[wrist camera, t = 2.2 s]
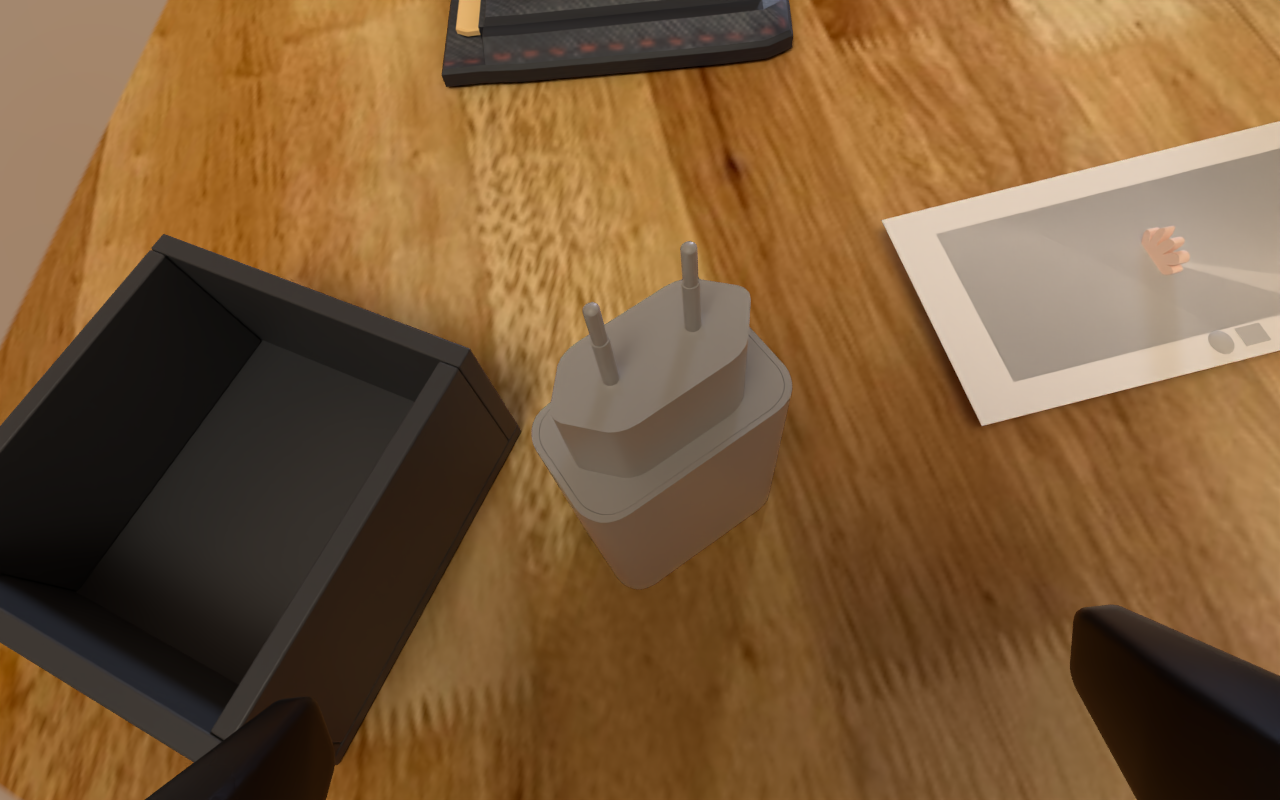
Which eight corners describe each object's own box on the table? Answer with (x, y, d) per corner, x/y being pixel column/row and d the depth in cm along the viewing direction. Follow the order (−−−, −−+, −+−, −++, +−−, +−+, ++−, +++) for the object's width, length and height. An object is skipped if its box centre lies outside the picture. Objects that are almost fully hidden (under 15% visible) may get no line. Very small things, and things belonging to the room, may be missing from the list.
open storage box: (338, 765, 20) (211, 774, 15) (63, 605, 22) (-123, 567, 17) (522, 430, 23) (470, 348, 18) (267, 328, 26) (163, 232, 21)
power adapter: (575, 515, 22) (441, 300, 11) (717, 418, 23) (719, 133, 12) (632, 600, 21) (542, 450, 10) (780, 494, 22) (845, 250, 11)
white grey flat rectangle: (875, 240, 25) (888, 199, 23) (1282, 138, 25) (1329, 89, 23) (969, 440, 22) (995, 410, 20) (1438, 320, 22) (1509, 280, 20)
